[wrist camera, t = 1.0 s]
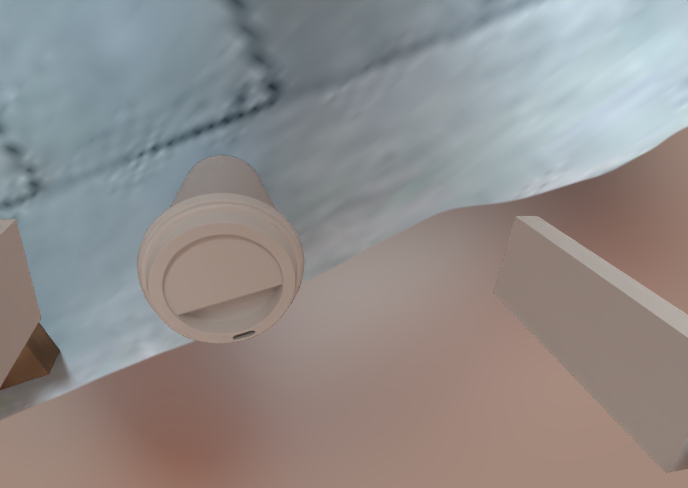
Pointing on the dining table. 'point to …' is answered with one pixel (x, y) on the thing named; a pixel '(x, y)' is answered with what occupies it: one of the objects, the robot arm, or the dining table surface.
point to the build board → (33, 359)
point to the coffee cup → (220, 256)
